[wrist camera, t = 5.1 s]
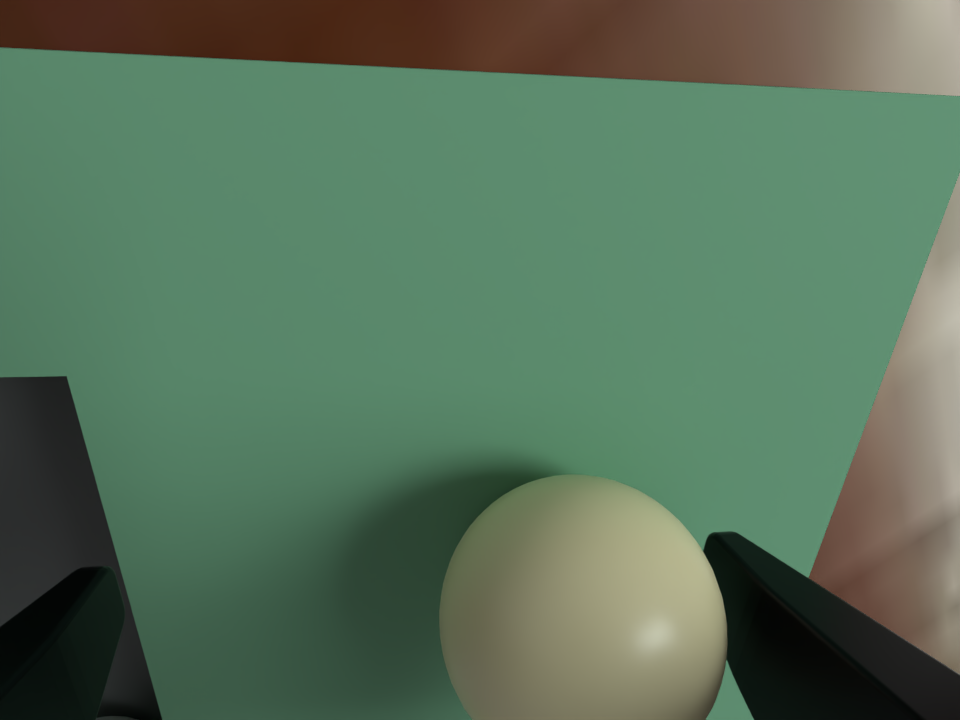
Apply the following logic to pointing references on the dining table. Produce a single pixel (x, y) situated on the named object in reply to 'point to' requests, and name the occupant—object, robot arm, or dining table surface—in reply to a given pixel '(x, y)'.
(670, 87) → the putting mat
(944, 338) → the dining table surface
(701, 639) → the yellow ball
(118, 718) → the white ball
